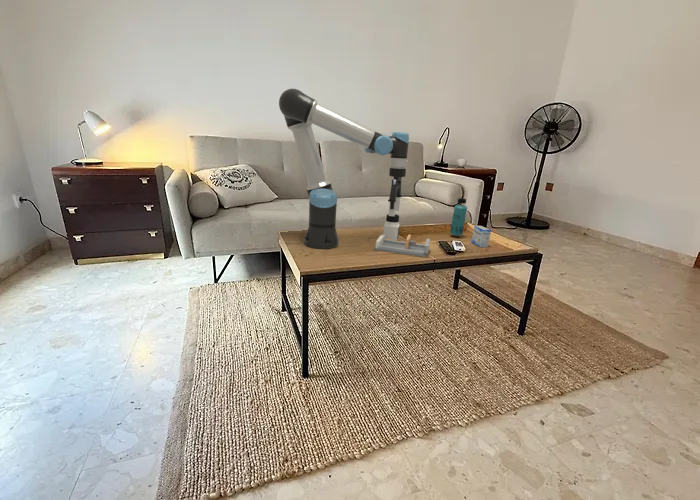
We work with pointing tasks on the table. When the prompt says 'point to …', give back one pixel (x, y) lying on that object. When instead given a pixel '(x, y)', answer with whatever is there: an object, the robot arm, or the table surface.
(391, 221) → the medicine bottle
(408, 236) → the pusher
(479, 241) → the medicine box
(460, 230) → the beverage bottle
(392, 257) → the table surface
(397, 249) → the lane
